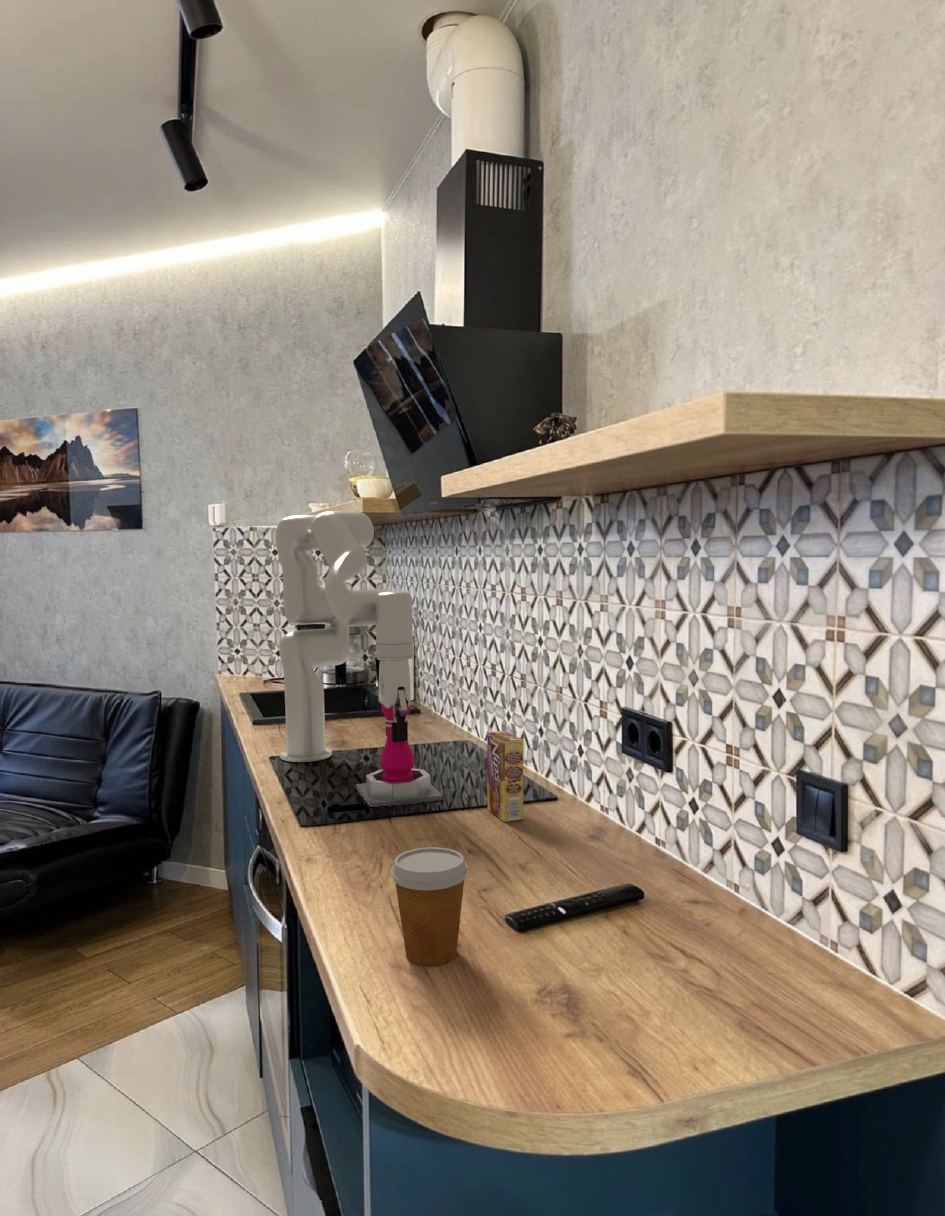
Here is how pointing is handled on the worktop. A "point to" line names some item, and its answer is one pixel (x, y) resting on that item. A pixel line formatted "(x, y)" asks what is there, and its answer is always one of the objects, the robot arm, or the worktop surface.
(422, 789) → the collar stand
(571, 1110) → the worktop surface
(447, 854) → the disposable coffee cup
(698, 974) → the worktop surface
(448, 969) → the worktop surface
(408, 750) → the pepper mill
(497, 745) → the candy box
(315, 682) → the robot arm
